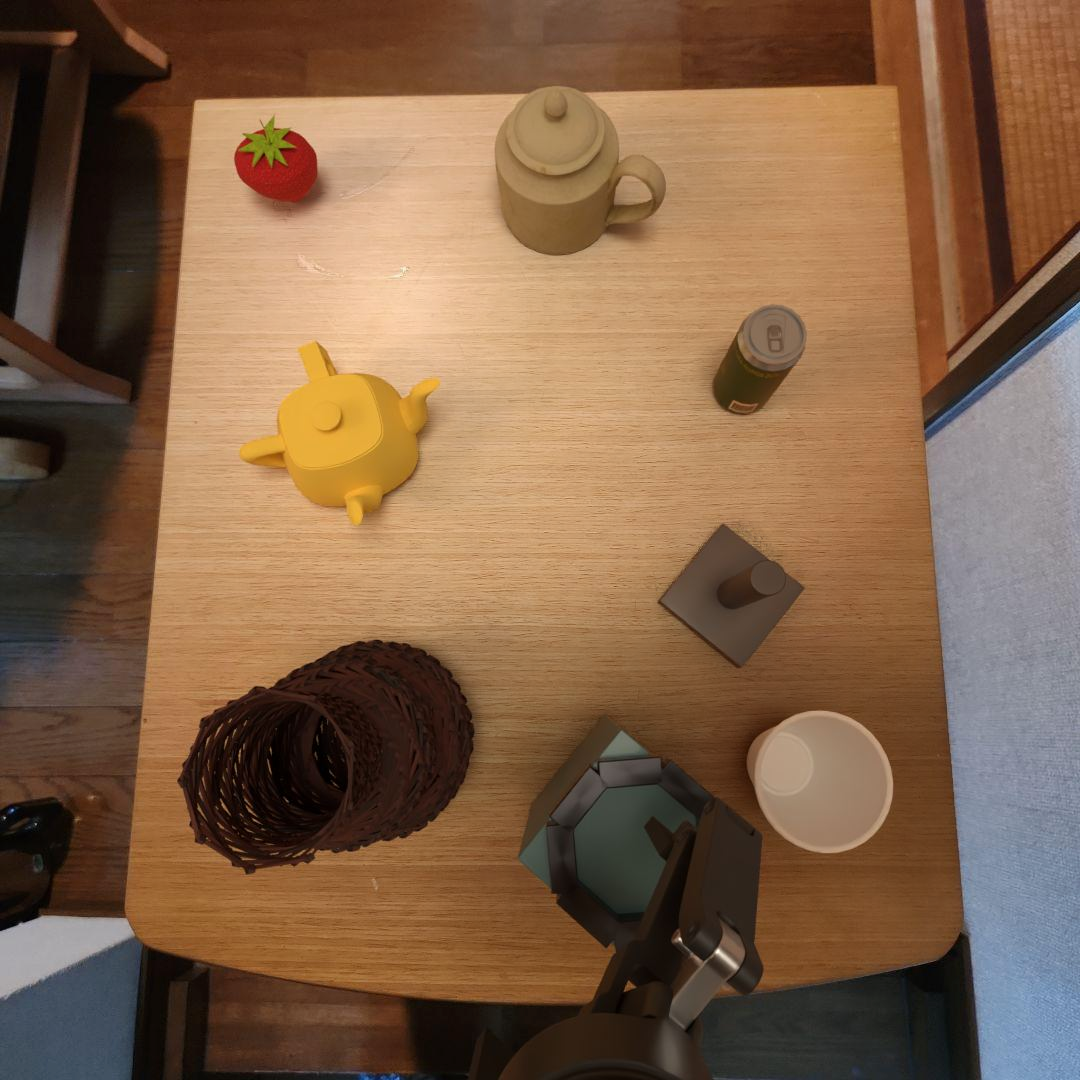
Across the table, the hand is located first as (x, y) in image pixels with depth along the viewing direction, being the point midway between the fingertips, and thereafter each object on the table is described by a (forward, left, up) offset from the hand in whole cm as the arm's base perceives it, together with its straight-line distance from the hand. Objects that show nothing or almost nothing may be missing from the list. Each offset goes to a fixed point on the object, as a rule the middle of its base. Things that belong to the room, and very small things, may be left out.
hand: (586, 942), depth 40 cm
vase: (+18, +3, -26) cm, 32 cm away
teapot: (+37, -14, -26) cm, 47 cm away
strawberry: (+60, -29, -26) cm, 71 cm away
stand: (0, -5, -26) cm, 26 cm away
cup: (-9, -16, -26) cm, 32 cm away
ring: (0, -5, -6) cm, 8 cm away
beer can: (+14, -41, -26) cm, 50 cm away
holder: (+3, -25, -26) cm, 36 cm away
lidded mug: (+38, -46, -26) cm, 65 cm away
